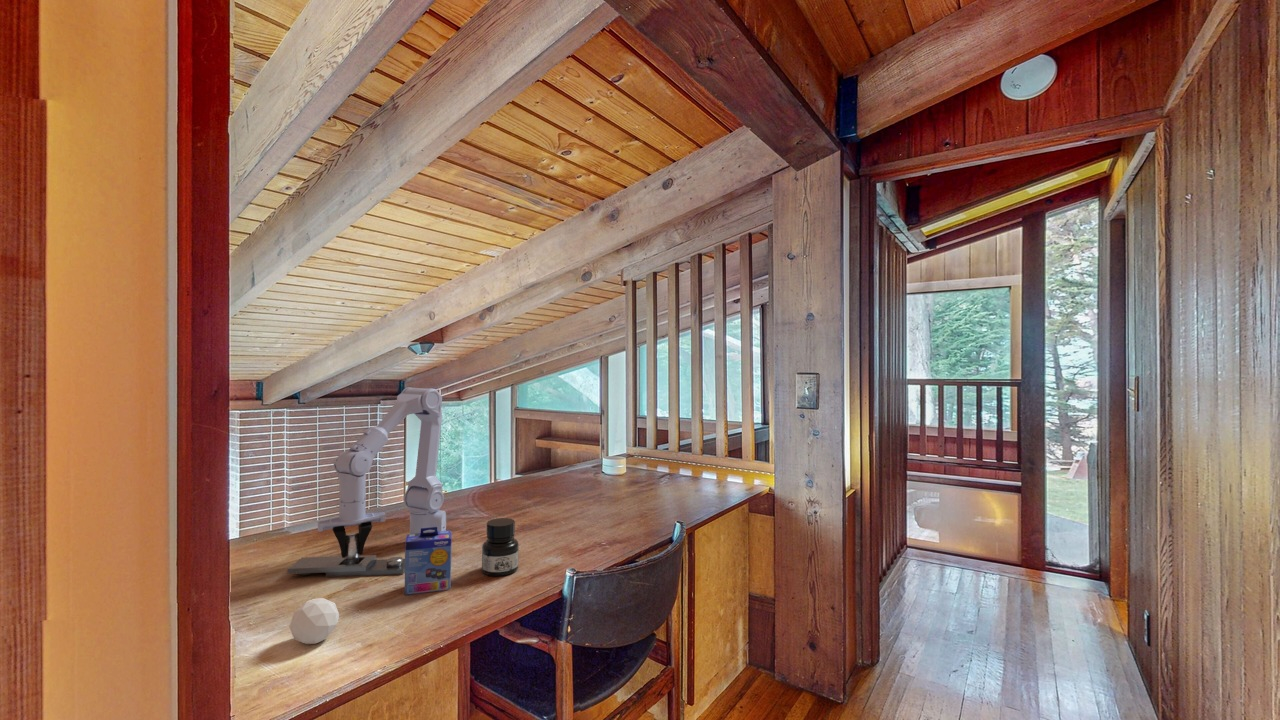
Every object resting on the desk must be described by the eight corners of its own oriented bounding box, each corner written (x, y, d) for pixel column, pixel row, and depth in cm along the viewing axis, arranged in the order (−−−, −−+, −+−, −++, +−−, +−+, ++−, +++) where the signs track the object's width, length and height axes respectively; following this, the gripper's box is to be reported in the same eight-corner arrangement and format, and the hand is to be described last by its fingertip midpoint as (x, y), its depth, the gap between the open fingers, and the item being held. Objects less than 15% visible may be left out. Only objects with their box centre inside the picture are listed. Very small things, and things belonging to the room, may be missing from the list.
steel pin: (357, 563, 133) (358, 531, 133) (359, 567, 131) (359, 535, 131) (344, 566, 131) (344, 533, 131) (345, 570, 129) (345, 537, 129)
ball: (307, 662, 97) (280, 639, 93) (306, 628, 103) (280, 606, 99) (349, 635, 99) (324, 612, 95) (345, 604, 106) (321, 581, 101)
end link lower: (411, 563, 136) (411, 553, 136) (402, 574, 129) (402, 564, 129) (338, 565, 134) (338, 556, 134) (325, 577, 127) (325, 567, 127)
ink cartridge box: (403, 596, 118) (404, 531, 118) (405, 586, 123) (406, 523, 123) (451, 590, 121) (452, 526, 121) (450, 580, 126) (451, 519, 126)
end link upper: (376, 564, 135) (376, 555, 135) (365, 575, 128) (365, 565, 128) (302, 567, 133) (302, 557, 133) (287, 578, 126) (287, 568, 126)
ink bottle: (479, 579, 127) (480, 529, 127) (480, 565, 136) (480, 518, 136) (521, 575, 130) (521, 526, 130) (519, 561, 138) (519, 515, 138)
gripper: (381, 492, 138) (381, 544, 138) (316, 500, 130) (316, 555, 130) (387, 498, 133) (386, 552, 133) (319, 507, 124) (318, 565, 124)
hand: (352, 554), depth 131 cm, fingers closed on steel pin, 3 cm apart
